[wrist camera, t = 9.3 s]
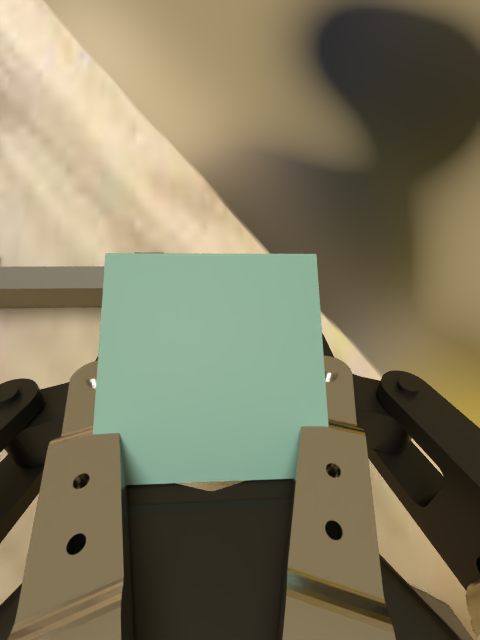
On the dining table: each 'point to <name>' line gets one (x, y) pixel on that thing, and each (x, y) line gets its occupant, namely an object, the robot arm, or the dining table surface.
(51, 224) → the dining table surface
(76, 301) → the screen
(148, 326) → the block
